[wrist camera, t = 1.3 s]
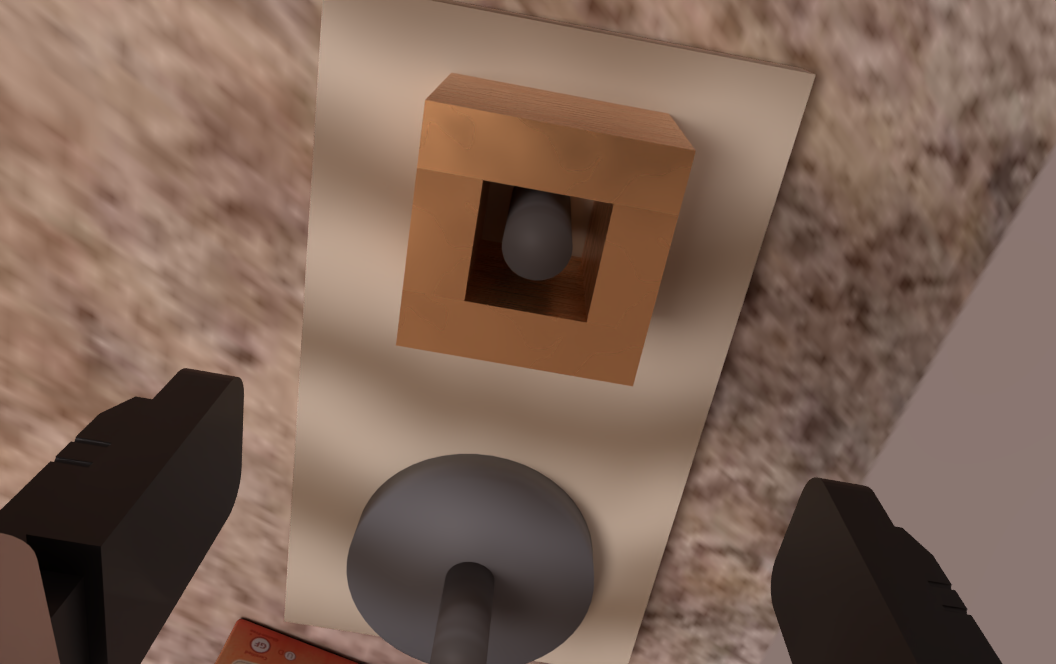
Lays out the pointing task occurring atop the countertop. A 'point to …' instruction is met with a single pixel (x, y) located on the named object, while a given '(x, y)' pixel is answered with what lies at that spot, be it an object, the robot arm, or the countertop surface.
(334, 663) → the cracker box
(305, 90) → the countertop surface
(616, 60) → the board
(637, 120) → the hollow wooden cube
